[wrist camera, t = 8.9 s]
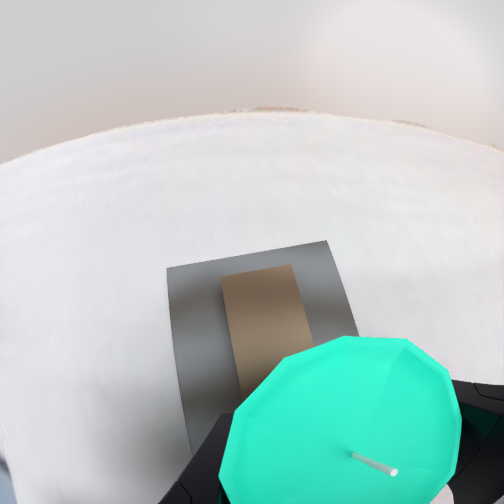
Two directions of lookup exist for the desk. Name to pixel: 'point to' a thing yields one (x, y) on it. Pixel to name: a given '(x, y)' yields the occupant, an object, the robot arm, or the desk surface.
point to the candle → (346, 428)
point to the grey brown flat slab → (249, 323)
